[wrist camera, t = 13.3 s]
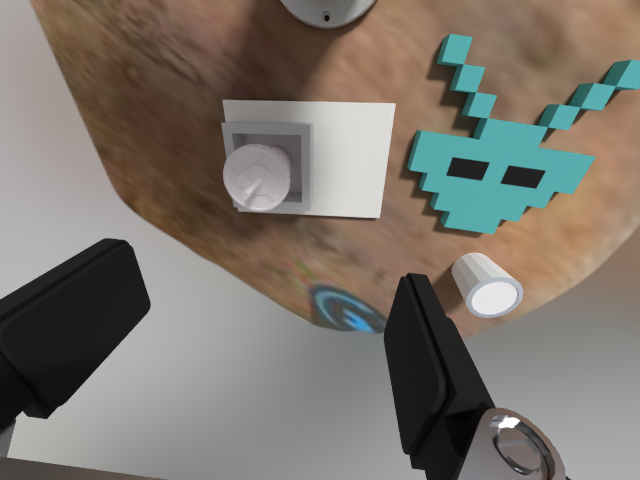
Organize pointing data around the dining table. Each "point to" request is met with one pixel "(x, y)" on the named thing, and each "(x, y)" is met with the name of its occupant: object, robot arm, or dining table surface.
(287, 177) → the smoothie
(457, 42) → the alien figure
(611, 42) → the dining table surface
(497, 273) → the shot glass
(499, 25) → the dining table surface
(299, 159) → the bottle stand
